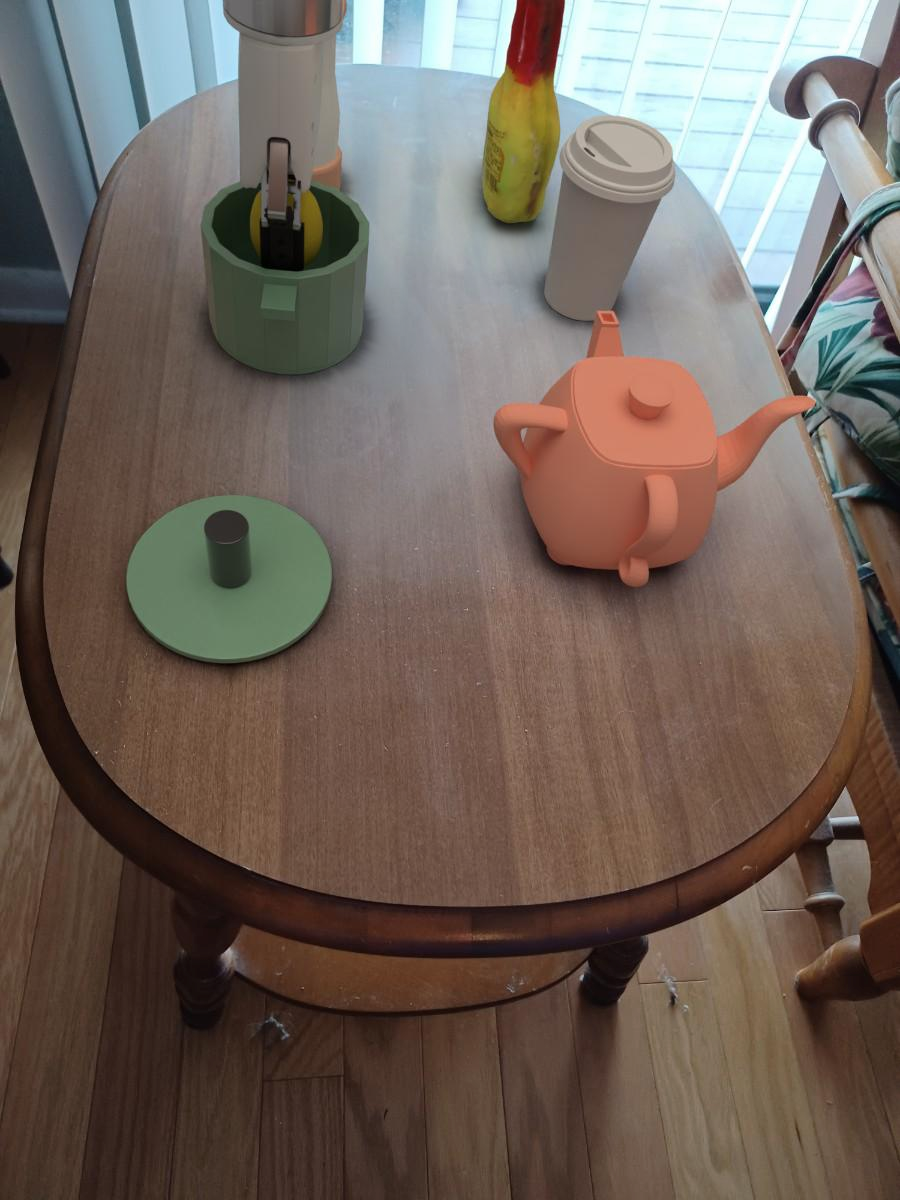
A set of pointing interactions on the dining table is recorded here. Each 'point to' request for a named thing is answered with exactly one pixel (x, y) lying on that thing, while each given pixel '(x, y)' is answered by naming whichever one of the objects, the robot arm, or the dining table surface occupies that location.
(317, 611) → the pot lid
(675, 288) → the dining table surface
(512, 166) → the bottle
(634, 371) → the teapot
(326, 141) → the salt shaker
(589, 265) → the coffee cup
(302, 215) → the lemon
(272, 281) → the pot
